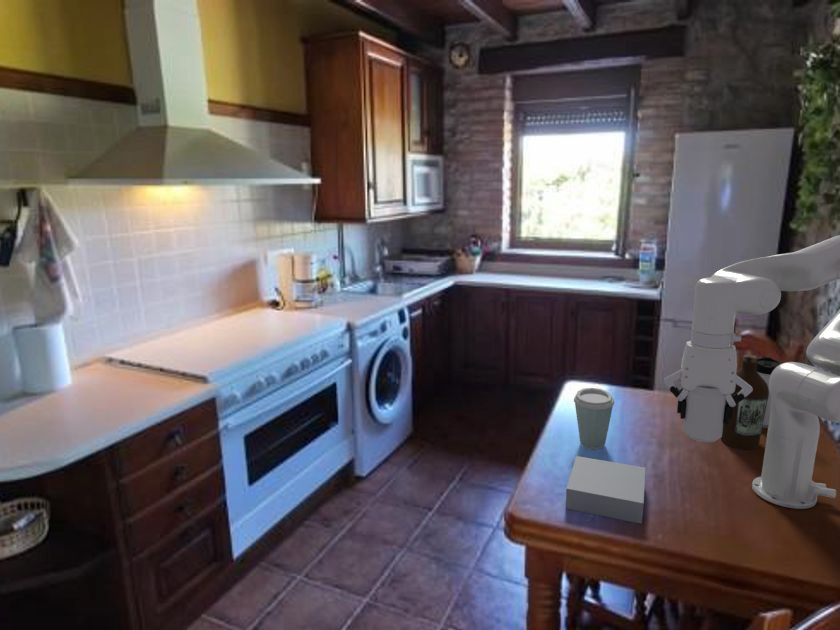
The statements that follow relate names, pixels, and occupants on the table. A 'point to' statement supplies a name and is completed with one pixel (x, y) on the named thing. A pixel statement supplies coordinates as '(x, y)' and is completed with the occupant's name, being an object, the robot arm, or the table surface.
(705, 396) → the can
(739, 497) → the table surface
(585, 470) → the grey block
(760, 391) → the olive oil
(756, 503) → the table surface
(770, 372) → the travel mug
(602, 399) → the disposable coffee cup
